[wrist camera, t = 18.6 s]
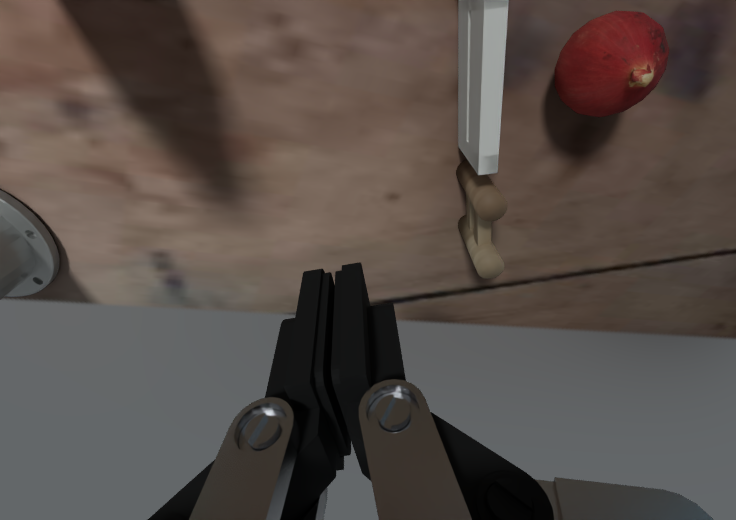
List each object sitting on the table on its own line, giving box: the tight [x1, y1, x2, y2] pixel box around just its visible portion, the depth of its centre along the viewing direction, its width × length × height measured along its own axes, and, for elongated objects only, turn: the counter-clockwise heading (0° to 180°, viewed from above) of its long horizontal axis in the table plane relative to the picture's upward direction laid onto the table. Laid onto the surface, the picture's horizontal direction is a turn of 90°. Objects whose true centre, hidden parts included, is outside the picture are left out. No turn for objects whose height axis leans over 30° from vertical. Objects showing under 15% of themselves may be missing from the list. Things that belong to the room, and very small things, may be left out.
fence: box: [456, 160, 507, 279], centre depth 24 cm, size 2×24×7 cm, turn 9°
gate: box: [458, 0, 509, 175], centre depth 23 cm, size 10×1×6 cm, turn 8°
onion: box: [555, 11, 669, 117], centre depth 23 cm, size 6×6×8 cm
